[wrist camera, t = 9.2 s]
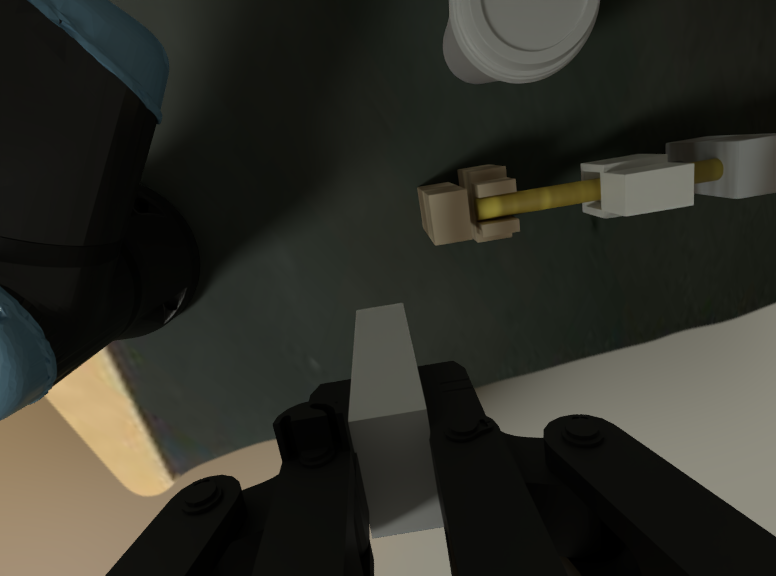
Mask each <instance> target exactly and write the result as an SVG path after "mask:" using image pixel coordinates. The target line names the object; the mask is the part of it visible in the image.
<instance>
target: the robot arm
mask: <svg viewBox="0 0 776 576" xmlns="http://www.w3.org/2000/svg"><path fill="white" fill-rule="evenodd" d="M168 75H169V61H168V57H167V54H166V52H165V50H164V47H163V46H162V44H161V43H160V42H159V41H158V39H157V38H156V37H155V36H154V35H153V34H152V33H151V32H150V31H149V30H148V29H147V28H146V27H144V26H143V25H142V24H141V23H139V22H138V21H137V20H136V19H134V18H133V17H131V16H130V15H129V14H127V13H126V12H124V11H123V10H122V9H120V8H119V7H117V6H116V5H114V4H113V3H111V2H110V1H108V0H0V420H2V419H5V418H7V417H8V416H10V415H11V414H13V413H15V412H17V411H18V410H20V409H22V408H23V407H25V406H27V405H29V404H32V403H35V402H36V401H38V400H40V399H41V398H42V397H44V395H46V394H47V393H48V391H49V390H50V389H52V387H53V386H54V385H55V384H57V383H58V382H59V381H61V380H62V379H63V378H65V377H66V376H67V375H69V374H70V373H71V372H73V371H74V370H75V369H77V368H78V367H79V366H81V365H82V364H83V363H84V362H86V361H87V360H88V359H90V358H91V357H92V356H94V355H95V354H96V353H98V352H99V351H100V350H102V349H103V348H104V347H106V346H107V345H108V344H109V343H111V342H112V341H116V340H123V339H129V338H135V337H140V336H143V335H146V334H149V333H151V332H154V331H156V330H158V329H160V328H161V327H163V326H165V325H166V324H167V323H169V322H170V321H171V320H172V319H173V318H175V317H176V316H177V315H178V314H179V313H180V312H181V311H182V310H183V309H184V308H185V307H186V306H187V304H188V303H189V301H190V300H191V298H192V296H193V294H194V292H195V290H196V286H197V283H198V279H199V271H200V261H199V253H198V248H197V244H196V241H195V238H194V236H193V234H192V232H191V229H190V228H189V226H188V224H187V223H186V221H185V220H184V218H183V217H182V216H181V214H180V213H179V212H178V211H177V210H176V209H175V208H174V207H173V206H172V205H171V204H170V203H169V202H168V201H167V200H166V199H164V198H163V197H162V196H160V195H159V194H157V193H156V192H154V191H152V190H150V189H148V188H146V187H144V186H141V185H139V184H140V181H141V177H142V174H143V170H144V166H145V163H146V159H147V156H148V152H149V149H150V145H151V142H152V138H153V134H154V131H155V127H156V124H160V123H161V120H162V113H161V111H160V109H161V105H162V101H163V96H164V92H165V88H166V83H167V79H168ZM273 428H274V432H275V435H276V439H277V443H278V447H279V451H280V455H281V458H282V465H281V469H280V473H279V474H278V475H276V476H275V477H273V478H271V479H269V480H267V481H265V482H263V483H260V484H258V485H255V486H252V487H250V488H247V489H245V490H241V486H240V483H239V481H238V480H236V479H235V478H234V477H232V476H226V475H217V476H210V477H206V478H203V479H200V480H198V481H195V482H193V483H192V484H190V485H189V486H187V487H185V488H184V489H182V490H181V491H180V492H178V493H177V494H176V495H175V496H174V497H173V498H172V499H171V500H170V501H169V502H168V503H167V504H166V506H165V507H164V508H163V509H162V510H161V511H160V513H159V514H158V515H157V516H156V517H155V518H154V520H153V521H152V522H151V523H150V524H149V525H148V527H147V528H146V529H145V530H144V531H143V532H142V533H141V535H140V536H139V537H138V538H137V539H136V540H135V542H134V543H133V544H132V545H131V546H130V547H129V549H128V550H127V551H126V552H125V553H124V554H123V556H122V557H121V558H120V559H119V560H118V561H117V563H116V564H115V565H114V566H113V567H112V568H111V570H110V571H109V572H108V573H107V574H106V576H374V559H373V554H372V549H371V544H370V540H369V524H370V529H371V533H372V538H379V537H384V536H391V535H397V534H403V533H409V532H415V531H422V530H427V529H434V528H440V527H444V529H445V535H446V542H447V548H448V555H449V561H450V567H451V574H452V576H776V537H775V536H774V535H772V534H771V533H769V532H768V531H767V530H765V529H764V528H762V527H761V526H759V525H758V524H756V523H755V522H754V521H752V520H751V519H749V518H748V517H746V516H745V515H744V514H742V513H741V512H739V511H738V510H736V509H735V508H734V507H732V506H731V505H729V504H728V503H726V502H725V501H724V500H722V499H721V498H719V497H718V496H716V495H715V494H713V493H712V492H710V491H709V490H708V489H706V488H705V487H703V486H702V485H700V484H699V483H698V482H696V481H695V480H693V479H692V478H690V477H689V476H688V475H686V474H685V473H683V472H682V471H680V470H679V469H677V468H676V467H675V466H673V465H672V464H670V463H669V462H667V461H666V460H665V459H663V458H662V457H660V456H659V455H657V454H656V453H655V452H653V451H652V450H650V449H649V448H647V447H646V446H645V445H643V444H642V443H640V442H639V441H637V440H636V439H634V438H633V437H631V436H630V435H629V434H627V433H626V432H624V431H623V430H622V429H620V428H619V427H617V426H616V425H614V424H612V423H610V422H608V421H606V420H604V419H602V418H598V417H594V416H590V415H582V414H580V415H578V414H576V415H568V416H563V417H559V418H557V419H555V420H553V421H551V422H549V423H548V425H547V426H546V427H545V429H544V438H532V437H520V436H513V435H510V434H506V433H504V432H502V431H500V428H499V426H498V425H497V424H496V423H495V421H494V420H493V419H491V418H489V417H487V416H486V415H485V413H484V410H483V408H482V406H481V404H480V401H479V399H478V397H477V395H476V392H475V390H474V388H473V385H472V383H471V381H470V379H469V376H468V374H467V372H466V369H465V368H464V367H462V366H461V365H459V364H458V363H456V362H454V361H448V362H442V363H436V364H430V365H424V366H418V367H417V364H416V360H415V355H414V351H413V346H412V342H411V337H410V333H409V328H408V324H407V319H406V315H405V311H404V306H403V303H398V304H392V305H386V306H380V307H374V308H368V309H362V310H356V323H355V336H354V349H353V363H352V376H351V379H349V380H343V381H337V382H331V383H325V384H320V385H319V386H318V388H317V389H316V390H315V391H314V392H313V393H312V394H311V395H310V399H309V402H305V403H301V404H298V405H296V406H294V407H291V408H289V409H287V410H286V411H284V412H283V413H282V414H280V415H279V416H278V417H277V418H276V420H275V421H274V423H273Z"/></svg>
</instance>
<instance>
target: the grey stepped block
mask: <svg viewBox="0 0 776 576" xmlns="http://www.w3.org/2000/svg"><path fill="white" fill-rule="evenodd" d="M595 178H600V181H601V200H597V201H591V202H585V203H582V205H583V212H584V213H588V214H591V215H595V216H598V217H601V218H605V219H606V218H612V217H618V216H632V215H638V214H644V213H650V212H656V211H662V210H668V209H673V208H679V207H685V206H691V205H694V163H676V162H668V154H634V155H628V156H623V157H617V158H611V159H605V160H599V161H593V162H587V163H581V181H583V180H589V179H595Z"/></svg>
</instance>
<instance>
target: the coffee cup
mask: <svg viewBox="0 0 776 576" xmlns="http://www.w3.org/2000/svg"><path fill="white" fill-rule="evenodd" d="M599 5H600V0H449V14H450V16H449V20H448V23H447V27H446V30H445V34H444V38H443V53H444V58H445V61H446V63H447V65H448V67H449V69H450V70H451V71H452V73H453V74H454V75H455V76H457V77H458V78H459V79H461V80H463V81H465V82H467V83H471V84H484V83H489V82H494V81H499V80H500V81H504V82H508V83H529V82H534V81H538V80H541V79H544V78H546V77H549V76H551V75H553V74H554V73H556V72H558V71H559V70H561V69H562V68H563V67H564V66H566V65H567V64H568V63H569V62H570V61H571V60H572V59H573V58H574V57H575V56H576V55H577V53H578V52H579V51H580V50H581V48H582V47H583V45H584V44H585V42H586V40H587V39H588V37H589V35H590V33H591V31H592V29H593V26H594V24H595V21H596V18H597V14H598V10H599Z"/></svg>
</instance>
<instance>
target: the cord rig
mask: <svg viewBox="0 0 776 576" xmlns="http://www.w3.org/2000/svg"><path fill="white" fill-rule="evenodd" d="M666 154H668V162H676V163H694V193H696V194H703V195H711V196H719V197H726V198H734V199H740V198H746V197H752V196H758V195H763V194H769V193H775V192H776V133H770V134H746V135H722V136H705V137H699V138H693V139H687V140H681V141H675V142H669V143H666ZM457 171H458V179H459V186H457V185H455V184H452V183H450V182H445V183H439V184H433V185H427V186H421V187H417V188H418V195H419V202H420V209H421V216H422V223H423V229H424V230H425V231H426V233H427V234H428V236H429V237H430V239H431V240H432V241H433V243H434V244H435V246H436V245H442V244H448V243H454V242H460V241H466V240H472V238H473V239H474V240H475V241H477V242H484V241H490V240H496V239H502V238H508V237H512V233H513V232H519V231H520V225H519V219H518V218H515V217H513V216H511V215H513V214H519V213H525V212H531V211H537V210H543V209H549V208H555V207H561V206H567V205H573V204H579V203H585V202H591V201H597V200H601V181H600V178H595V179H589V180H583V181H577V182H571V183H565V184H559V185H554V186H548V187H542V188H536V189H530V190H524V191H518V192H517V190H516V179H513V178H508V177H507V174H506V166H499V165H490V164H487V165H481V166H475V167H470V168H464V169H458V170H457Z"/></svg>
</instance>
